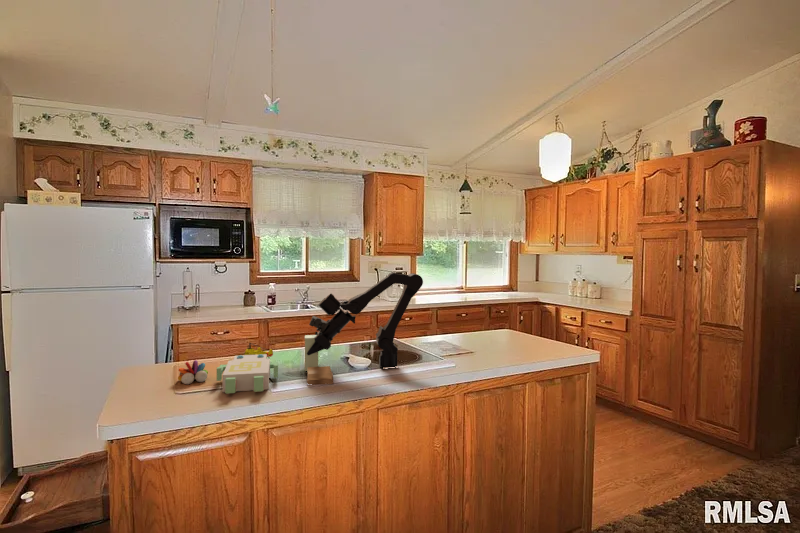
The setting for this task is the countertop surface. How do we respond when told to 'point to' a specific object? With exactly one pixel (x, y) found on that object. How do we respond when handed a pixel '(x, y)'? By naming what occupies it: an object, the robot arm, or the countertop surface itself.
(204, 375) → the rainbow peg wheeled toy
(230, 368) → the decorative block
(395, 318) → the robot arm
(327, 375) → the upper slab
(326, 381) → the lower slab
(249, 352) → the toy helicopter
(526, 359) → the countertop surface
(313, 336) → the pillar
